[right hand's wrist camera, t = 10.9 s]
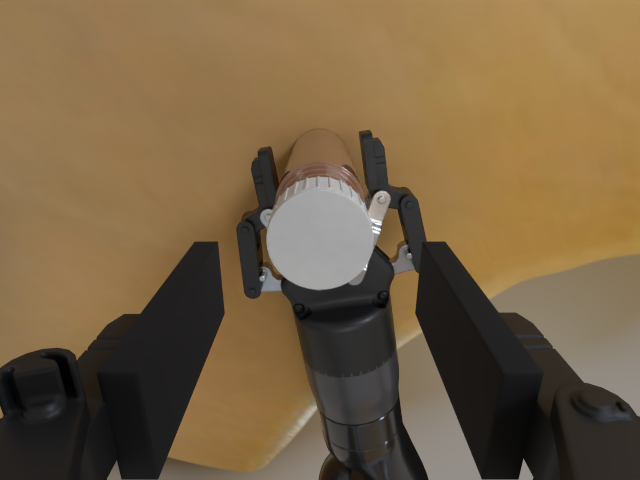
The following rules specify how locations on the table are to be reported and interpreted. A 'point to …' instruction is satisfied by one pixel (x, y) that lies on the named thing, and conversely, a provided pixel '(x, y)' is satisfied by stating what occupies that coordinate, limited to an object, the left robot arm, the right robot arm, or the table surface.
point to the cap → (319, 233)
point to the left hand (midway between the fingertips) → (314, 141)
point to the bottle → (319, 161)
